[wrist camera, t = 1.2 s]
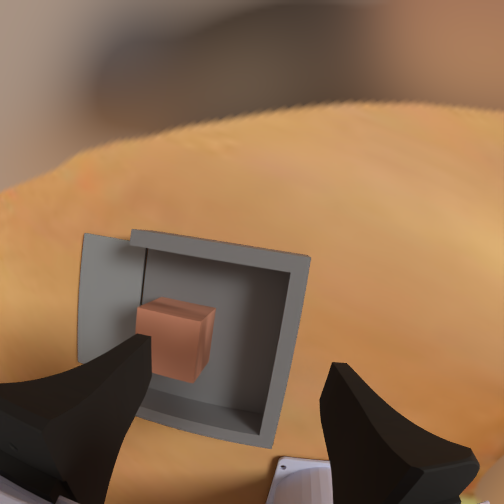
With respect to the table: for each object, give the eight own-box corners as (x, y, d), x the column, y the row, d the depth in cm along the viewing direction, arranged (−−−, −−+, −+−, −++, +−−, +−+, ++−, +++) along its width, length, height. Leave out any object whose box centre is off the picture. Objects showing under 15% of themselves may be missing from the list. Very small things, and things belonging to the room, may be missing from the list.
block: (208, 361, 22) (193, 383, 18) (157, 348, 23) (133, 367, 19) (215, 307, 22) (200, 321, 18) (161, 296, 22) (137, 307, 18)
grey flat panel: (136, 380, 23) (134, 381, 23) (79, 360, 24) (77, 361, 24) (148, 243, 23) (146, 243, 23) (86, 233, 24) (84, 233, 23)
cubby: (274, 423, 22) (271, 449, 19) (139, 391, 23) (120, 410, 20) (307, 255, 22) (311, 257, 18) (153, 230, 23) (131, 229, 19)
